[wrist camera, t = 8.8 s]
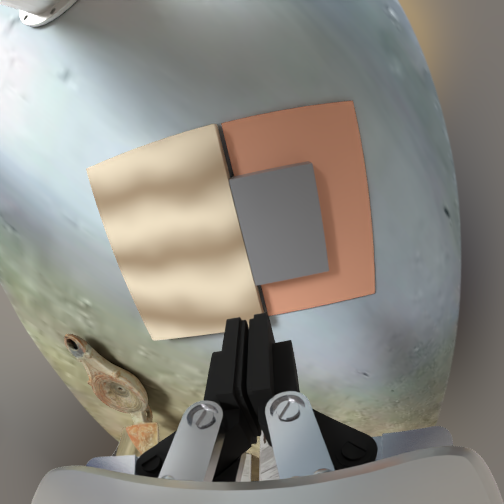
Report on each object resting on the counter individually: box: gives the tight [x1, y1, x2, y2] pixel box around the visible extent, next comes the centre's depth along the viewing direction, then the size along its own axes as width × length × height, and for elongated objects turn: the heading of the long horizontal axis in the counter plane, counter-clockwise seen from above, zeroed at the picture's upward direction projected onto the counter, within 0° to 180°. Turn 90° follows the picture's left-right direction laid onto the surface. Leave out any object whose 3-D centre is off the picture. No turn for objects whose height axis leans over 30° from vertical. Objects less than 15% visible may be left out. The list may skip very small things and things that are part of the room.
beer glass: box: [112, 427, 142, 457], centre depth 36 cm, size 7×7×15 cm
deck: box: [86, 124, 264, 341], centre depth 27 cm, size 20×13×2 cm, turn 13°
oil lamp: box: [64, 334, 159, 454], centre depth 32 cm, size 9×21×10 cm, turn 28°
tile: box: [229, 161, 329, 286], centre depth 25 cm, size 10×7×2 cm
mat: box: [221, 101, 375, 316], centre depth 26 cm, size 20×12×1 cm, turn 13°
